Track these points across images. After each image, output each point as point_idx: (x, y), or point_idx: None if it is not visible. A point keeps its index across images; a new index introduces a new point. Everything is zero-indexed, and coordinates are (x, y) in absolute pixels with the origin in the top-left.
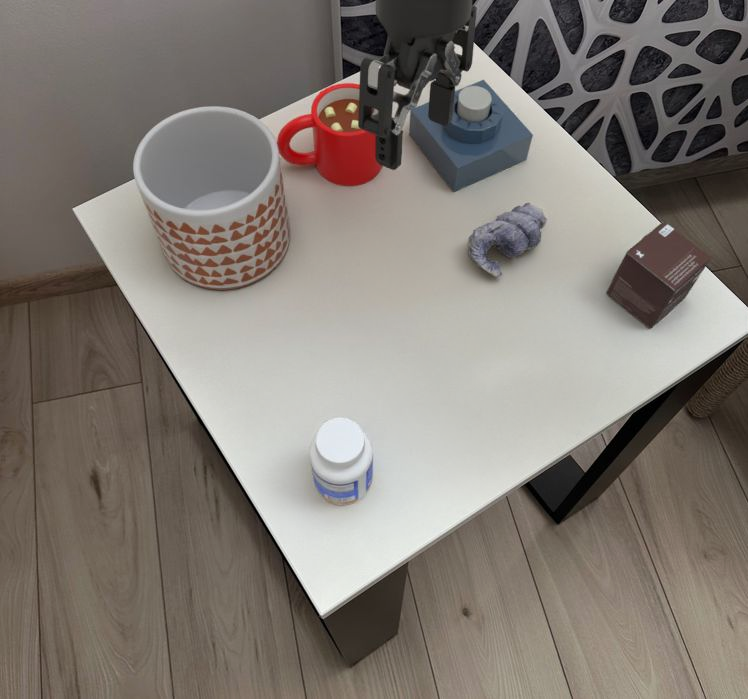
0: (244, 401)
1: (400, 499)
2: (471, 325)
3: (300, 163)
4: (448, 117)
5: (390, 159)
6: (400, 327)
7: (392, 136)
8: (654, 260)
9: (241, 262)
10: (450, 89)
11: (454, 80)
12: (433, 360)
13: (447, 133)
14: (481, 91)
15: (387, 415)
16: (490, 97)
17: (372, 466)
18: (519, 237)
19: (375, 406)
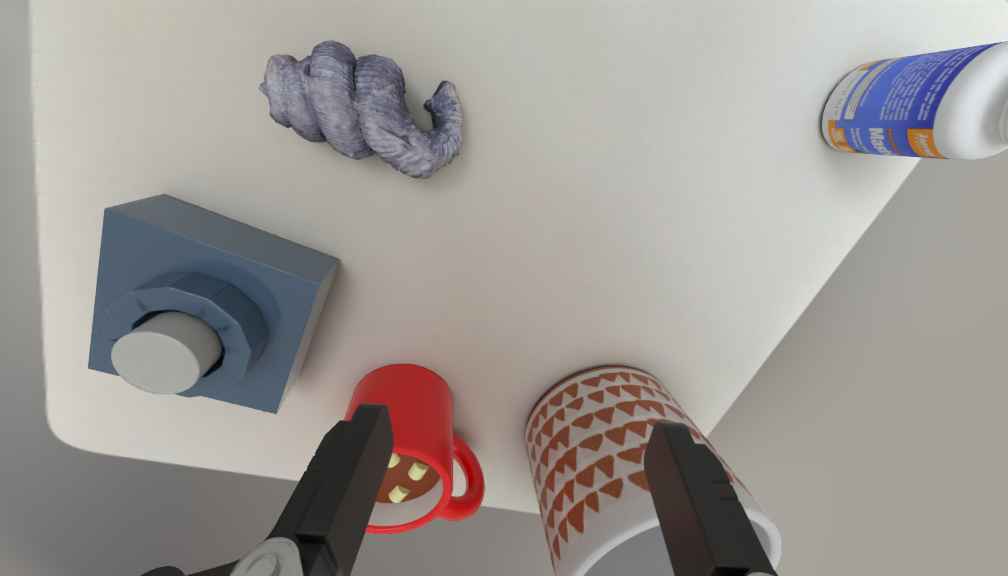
0: (784, 279)
1: (873, 7)
2: (555, 79)
3: (464, 444)
4: (372, 426)
5: (715, 469)
6: (612, 181)
7: (750, 566)
8: None
9: (676, 408)
10: (320, 538)
11: None
12: (643, 100)
13: (266, 342)
14: (127, 364)
15: (753, 109)
16: (121, 341)
17: (934, 55)
18: (378, 75)
19: (744, 134)
